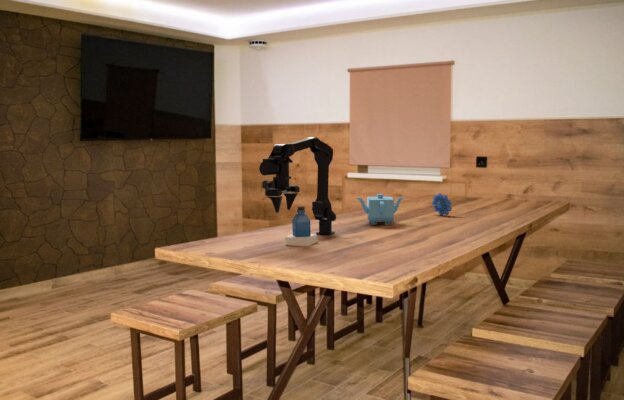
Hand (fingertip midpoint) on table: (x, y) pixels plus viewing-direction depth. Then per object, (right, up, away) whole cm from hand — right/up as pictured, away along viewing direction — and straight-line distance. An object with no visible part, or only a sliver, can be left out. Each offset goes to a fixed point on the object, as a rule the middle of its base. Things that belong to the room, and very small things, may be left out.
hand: (283, 211), depth 251 cm
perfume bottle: (+8, -10, -3) cm, 13 cm away
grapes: (+82, -4, +72) cm, 109 cm away
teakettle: (+46, -7, +50) cm, 68 cm away
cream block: (+8, -14, -2) cm, 16 cm away
